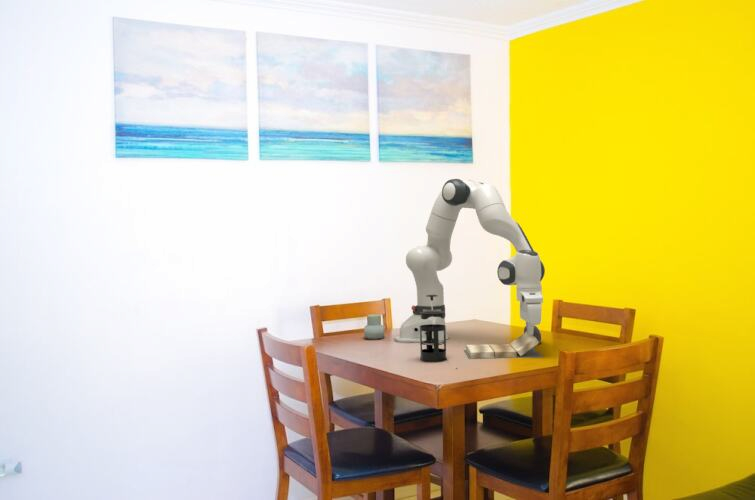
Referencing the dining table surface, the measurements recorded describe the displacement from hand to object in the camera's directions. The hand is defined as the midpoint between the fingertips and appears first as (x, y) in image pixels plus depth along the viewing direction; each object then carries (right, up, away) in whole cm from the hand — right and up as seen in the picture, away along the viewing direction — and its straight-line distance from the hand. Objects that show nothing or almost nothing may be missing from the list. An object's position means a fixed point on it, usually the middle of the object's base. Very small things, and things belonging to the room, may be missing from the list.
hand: (530, 334), depth 251 cm
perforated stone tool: (+7, -7, +24) cm, 26 cm away
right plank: (-2, -4, 0) cm, 4 cm away
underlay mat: (-10, -8, 0) cm, 13 cm away
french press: (-35, -9, -3) cm, 36 cm away
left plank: (-18, -7, +1) cm, 19 cm away
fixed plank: (-10, -7, 0) cm, 12 cm away
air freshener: (-56, -8, +48) cm, 74 cm away
